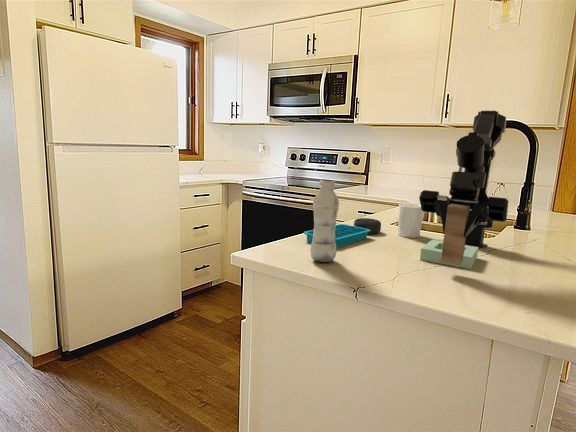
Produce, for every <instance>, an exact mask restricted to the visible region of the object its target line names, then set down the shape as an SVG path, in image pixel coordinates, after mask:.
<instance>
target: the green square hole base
mask: <svg viewBox="0 0 576 432" xmlns="http://www.w3.org/2000/svg"><path fill="white" fill-rule="evenodd" d="M443 241H444V240H443ZM443 241H442V240H437V239H431V240H430V241H429V242H427V243H426V244H425V245H424V246H422V247H421V248H420V256H419V260H420V261H426V262H431V263H434V264H440V265H446V266H451V267H457V268H461V269H466V270H471V269H472V267H473V265H474V264H475V262H476V260H477V259H478V256H479V255H478V254H479V248H480V247H474V246H468V245H465V248H464V255H463V261H462V263H461V264H460V265H455V264H450V263H445V262H441V258H442V249H443Z"/></svg>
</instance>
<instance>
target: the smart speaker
mask: <svg viewBox="0 0 576 432" xmlns="http://www.w3.org/2000/svg"><path fill="white" fill-rule="evenodd" d="M353 226H355V227H360V228H365V229H369V230H371V231H370V232H367V235H377V234H379V233H380V232H381V230H382V223H381V221H380V220H379V219H374V218H369V217H368V218H367V217H364V218H363V217H360V218H359V217H358V218H356V219H355V220H354V221H353Z"/></svg>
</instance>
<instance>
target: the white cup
mask: <svg viewBox="0 0 576 432" xmlns="http://www.w3.org/2000/svg"><path fill="white" fill-rule="evenodd" d="M424 213H425V212H424V211H422V210H421V205H420V204H419V203H418V204H417V203H399V204H398V213H397V214H398V218H397V222H398V223H397V226H398V229H397V230H398V231H397V235H398V236H400V237H403V238H409V239H410V238H411V239H412V238H416V237H417V238H419V237H420V236H421V235H420V234H421V229H422V225H423V224H422V223H423V219H424Z"/></svg>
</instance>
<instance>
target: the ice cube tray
mask: <svg viewBox="0 0 576 432" xmlns="http://www.w3.org/2000/svg"><path fill="white" fill-rule="evenodd" d="M335 226H336V227H335V243H336V248H338V247H342V246H346V245H349V244H354V243H356V241H357V242H359V241H364V240H367V236H368V234H367V232H370V231H371V230H369V229H365V228H360V227H355V226H354V225H349V224H346V223H338V224H336V225H335ZM313 232H314V229H311V230H307V231H306V230H305V231H304V232H303V234H304V235H306V241H307V243H310V244H312V240H313ZM363 239H364V240H363Z"/></svg>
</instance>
